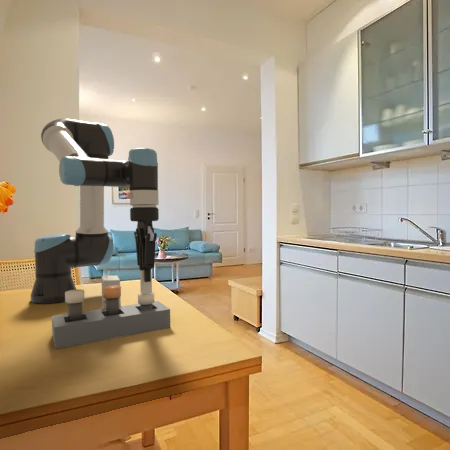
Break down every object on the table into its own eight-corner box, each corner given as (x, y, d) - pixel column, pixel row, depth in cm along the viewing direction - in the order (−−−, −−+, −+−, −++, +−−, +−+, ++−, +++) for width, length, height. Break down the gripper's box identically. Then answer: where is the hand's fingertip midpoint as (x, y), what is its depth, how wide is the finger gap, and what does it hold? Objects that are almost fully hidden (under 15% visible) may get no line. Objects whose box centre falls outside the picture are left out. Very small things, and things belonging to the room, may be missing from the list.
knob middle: (102, 314, 92) (101, 286, 92) (119, 311, 94) (118, 284, 94) (105, 318, 88) (104, 289, 88) (123, 316, 90) (122, 287, 90)
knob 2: (136, 319, 96) (135, 293, 96) (151, 317, 99) (151, 291, 98) (141, 324, 93) (140, 296, 92) (157, 321, 95) (156, 294, 94)
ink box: (121, 319, 101) (120, 279, 101) (103, 321, 100) (102, 280, 99) (118, 311, 109) (117, 274, 109) (101, 313, 107) (100, 275, 107)
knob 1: (65, 320, 87) (64, 290, 87) (83, 317, 90) (82, 288, 89) (66, 324, 84) (65, 294, 83) (86, 321, 86) (85, 292, 85)
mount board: (52, 335, 89) (51, 316, 88) (158, 317, 102) (158, 300, 102) (55, 348, 80) (54, 327, 80) (170, 327, 94) (170, 309, 94)
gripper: (124, 207, 98) (126, 290, 99) (137, 206, 87) (139, 300, 88) (150, 207, 102) (152, 287, 103) (165, 206, 90) (167, 296, 91)
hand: (146, 292), depth 95 cm, fingers closed
